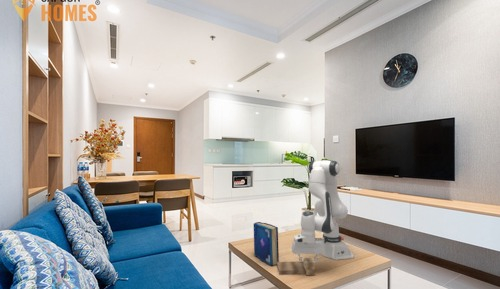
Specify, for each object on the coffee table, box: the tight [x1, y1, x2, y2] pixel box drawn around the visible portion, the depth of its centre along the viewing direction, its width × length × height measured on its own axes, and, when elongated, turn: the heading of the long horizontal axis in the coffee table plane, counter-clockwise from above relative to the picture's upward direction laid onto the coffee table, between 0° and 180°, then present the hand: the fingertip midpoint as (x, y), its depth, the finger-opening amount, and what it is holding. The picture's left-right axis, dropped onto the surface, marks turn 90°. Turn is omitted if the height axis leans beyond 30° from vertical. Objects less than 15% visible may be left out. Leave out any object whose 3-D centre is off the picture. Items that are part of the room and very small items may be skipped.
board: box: [276, 260, 306, 276], centre depth 151 cm, size 22×12×2 cm, turn 91°
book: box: [253, 221, 280, 267], centre depth 166 cm, size 22×7×25 cm, turn 35°
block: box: [302, 257, 316, 276], centre depth 147 cm, size 5×8×7 cm, turn 1°
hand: (308, 260), depth 147 cm, fingers open, 8 cm apart
